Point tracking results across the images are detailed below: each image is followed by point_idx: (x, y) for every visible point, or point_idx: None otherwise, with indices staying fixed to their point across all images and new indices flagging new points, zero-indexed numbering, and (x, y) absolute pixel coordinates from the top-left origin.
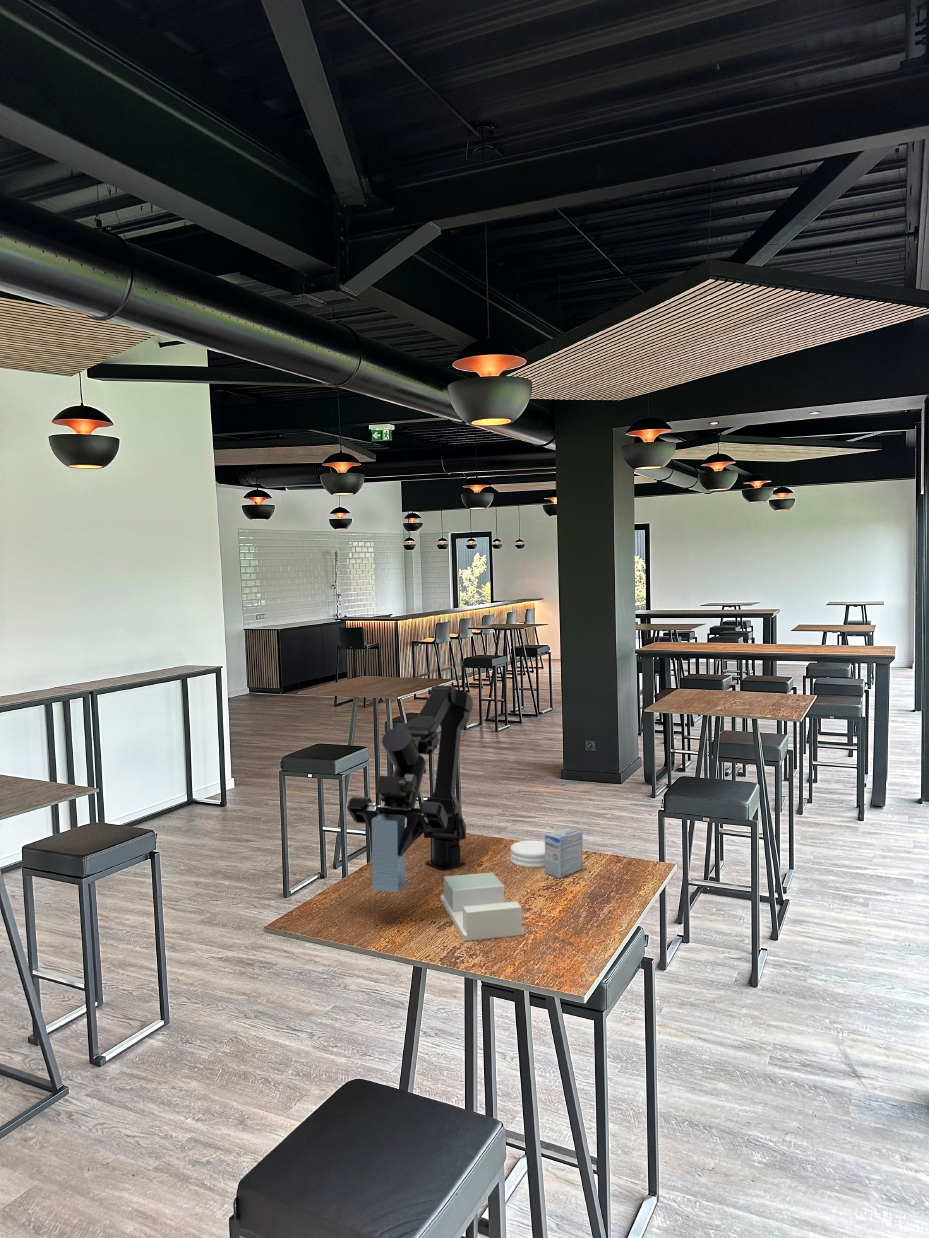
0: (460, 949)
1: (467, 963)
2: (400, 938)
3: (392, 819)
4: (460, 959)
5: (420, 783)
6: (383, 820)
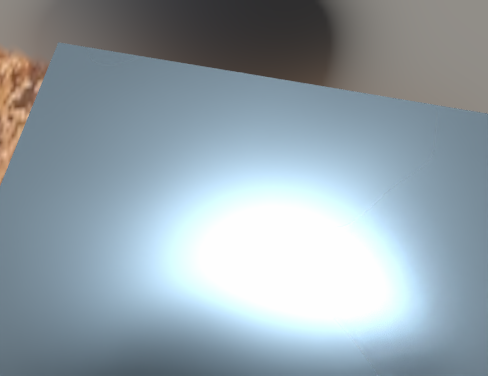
0: (14, 145)
1: (2, 69)
2: None
3: (203, 194)
4: (19, 88)
5: None
6: (429, 107)
